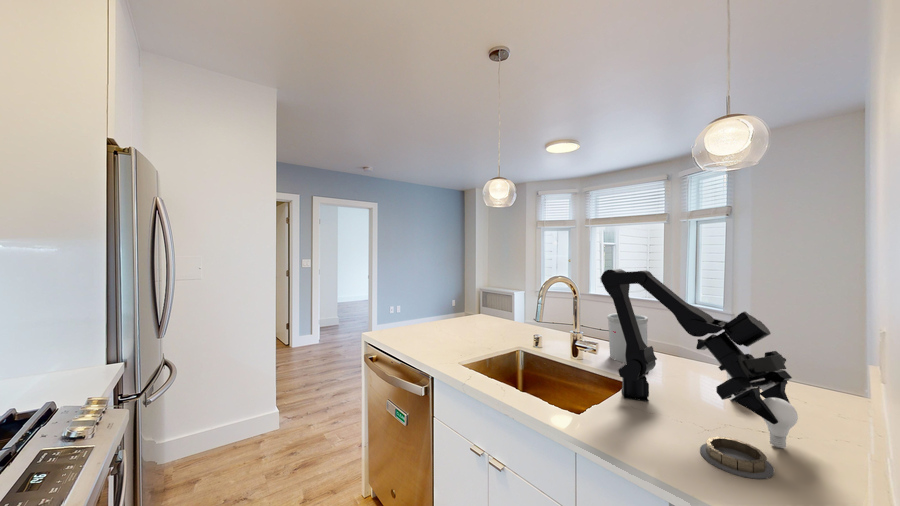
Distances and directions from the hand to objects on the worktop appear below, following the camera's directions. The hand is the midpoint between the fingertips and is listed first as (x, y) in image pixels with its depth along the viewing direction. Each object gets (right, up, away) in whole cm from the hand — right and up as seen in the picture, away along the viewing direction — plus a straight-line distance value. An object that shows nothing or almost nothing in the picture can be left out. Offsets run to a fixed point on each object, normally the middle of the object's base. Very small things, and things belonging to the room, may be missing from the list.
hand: (785, 420), depth 76 cm
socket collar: (-14, -7, -3) cm, 16 cm away
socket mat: (-14, -7, -3) cm, 16 cm away
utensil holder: (-1, -7, +66) cm, 66 cm away
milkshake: (+11, -7, +25) cm, 28 cm away
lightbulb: (0, -7, +1) cm, 7 cm away
